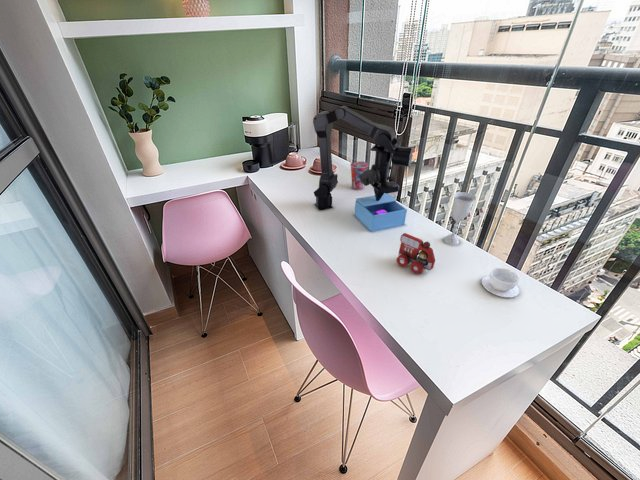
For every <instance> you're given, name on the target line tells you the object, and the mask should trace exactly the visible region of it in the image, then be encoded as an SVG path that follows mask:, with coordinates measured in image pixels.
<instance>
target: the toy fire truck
mask: <svg viewBox="0 0 640 480" xmlns="http://www.w3.org/2000/svg"><path fill="white" fill-rule="evenodd" d="M399 241H400V245H399V249H398V255H397V258H396V263H397V265H398V266H399V267H402V268H406V267H407V266H409V268H410V270H411V272H412V273H413V274H415V275H419V274H422V273H423V272H424V270H427V271H432V270H433V269H434V268H435V267H434V266H435V263H436V258H435V253H434V249H433V248H432V247H431V242H429V241H423V240H422V239H421V238H418V237H416V236H414V235H411V234H408V233H406V232H404V233H402V234H401V235H400V238H399ZM410 263H411V264H410ZM409 264H410V265H409Z"/></svg>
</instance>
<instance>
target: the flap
mask: <svg viewBox="0 0 640 480" xmlns="http://www.w3.org/2000/svg"><path fill="white" fill-rule="evenodd" d="M356 200H357V201H358V202H359V203H360V204H361V205H363V206H364V207H366V206H371V205H377V204H382V203H388V202H393V201H396V202H397V199H396V198H394V197H393V196H392V195H391V194H390V193H387V194H386V193H384V194H383V196H382V197H381V199H380V200H379V201H377V200H376V198H375V194H374V195H368V196H363V197H357V198H355V201H356Z"/></svg>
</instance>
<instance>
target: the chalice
mask: <svg viewBox="0 0 640 480" xmlns="http://www.w3.org/2000/svg"><path fill="white" fill-rule="evenodd" d="M453 198H454V200H453V203H452V207H451V211H452V212H451V213H452V218H453V220H454V221H455V223H454V224H453V228H452V229H451V230H452V233H449V234H447V236H446V237H445V238H444V240H443V241H444V242H445V244H448V245H451V246H456V245H459V243H460V241H459V237H458V235H457V234H456V232H457V231H458V227H459V223H460V222H462V221H463V220H464V219H465V218H467V216H468V215H469V214H470V212H471V211H472V208H473V204H474V202H475V201H476V199H477V196H476V195H475V194H473V193H470V192H466V191H459V192H455V193H454V194H453Z"/></svg>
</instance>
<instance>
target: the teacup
mask: <svg viewBox="0 0 640 480" xmlns="http://www.w3.org/2000/svg"><path fill="white" fill-rule="evenodd" d="M520 280H521V279H520V276H519V275H518V274H517V273H516V272H514V271H513V270H511V269H508V268H506V267H505V268H504V267H494V268H492V269H491V270H490V274H489V275H486V276H484V277H483V278H482V279H481V284H482V286H483V288H484V289H485V290H487V291H488V292H489V293H491V294H493V295H495V296H498V297H502V298H514V297H517V296H518V295H519V294H520V288H519V286H518V284H519V282H520Z"/></svg>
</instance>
